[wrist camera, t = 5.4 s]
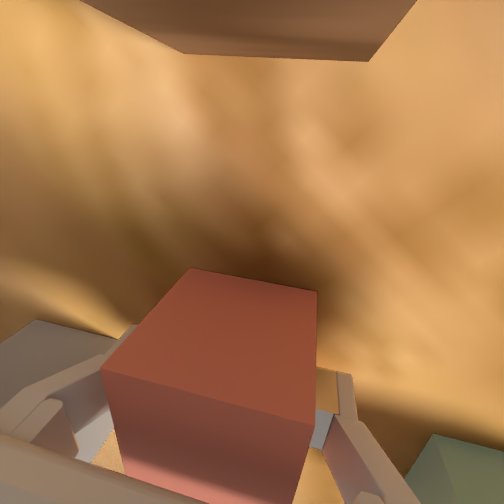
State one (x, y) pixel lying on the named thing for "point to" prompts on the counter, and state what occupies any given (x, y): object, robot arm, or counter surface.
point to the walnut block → (264, 26)
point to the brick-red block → (218, 390)
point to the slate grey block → (53, 369)
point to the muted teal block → (457, 473)
